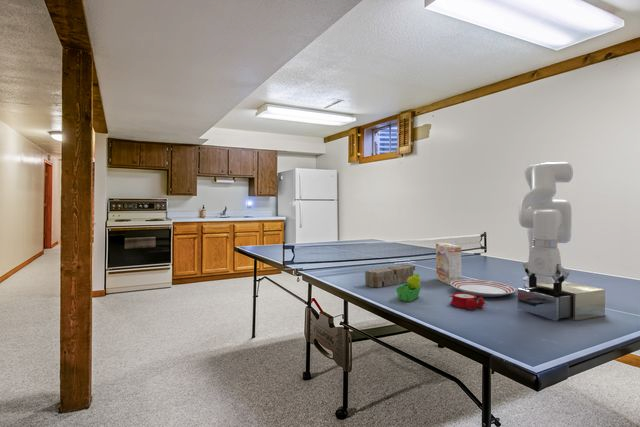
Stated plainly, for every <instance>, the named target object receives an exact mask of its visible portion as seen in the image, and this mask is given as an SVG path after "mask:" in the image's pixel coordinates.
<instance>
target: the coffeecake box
mask: <svg viewBox="0 0 640 427" xmlns="http://www.w3.org/2000/svg"><path fill="white" fill-rule="evenodd" d="M435 271H436V272H435V279H436V280H438V281H440V282H442V283H444V284H445V285H448V286H451V284H450V283H451V282H452V281H455V280H462V246H460V245H457V244H452V243H448V242H437V243H435Z"/></svg>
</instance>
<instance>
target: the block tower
mask: <svg viewBox="0 0 640 427" xmlns="http://www.w3.org/2000/svg"><path fill="white" fill-rule="evenodd" d="M414 271H416V265H412V264H406V263H402V264H399V265H392V266H388V267H381V268H373V269H368V270H365V271H364V279H365V286H366V287H369V288H378V289H379V288H382V287H389V286H393V285H398V284H404V283H407V279H408V278H409V277H411V276H413V275H414Z"/></svg>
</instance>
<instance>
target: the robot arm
mask: <svg viewBox="0 0 640 427" xmlns="http://www.w3.org/2000/svg"><path fill="white" fill-rule="evenodd" d="M523 172H524V178H525V181H526V183H527V185H528V187H529V191H527V193H526V194H525V195H524V196H523V197H521V200H520V201H519V205H518V222H519V225H520V227H522V228H525V229H527V230H526V232H527V239H528V260H527V262H525V263H523V264H522V266H523V269H524V272H525V273H526V276H524V277H523V278H522V281H524V282H526V283H525V285H524V287H525V289H527V288H533V287H536V286H537V283H544V282H552V281H555V283H553V293H554V294H560V293H561V291H562V282H564V281H566V280H567V279H568V277H569V275H570V270H569V271H568V270H567V269H566V268H564V266H562V259H561V253H560V252H561V251H560V249H559V248H558V244H567V243H569V242H570V241H571V238H572V214H573V213H572V205H571V202H570V201H569V200H567V199H553V198H554V197H555V195H556V193H557V185H556V184H557V183H560V184H561V183H570V182H571V181H572V179H573V176H574V170H573V166H572V164H571V163H570V162H568V161H558V162H557V161H555V162H552V161H551V162H541V163H537V164H530V165H527V166H526V167H525V168H524V171H523Z"/></svg>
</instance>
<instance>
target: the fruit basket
mask: <svg viewBox="0 0 640 427" xmlns="http://www.w3.org/2000/svg"><path fill="white" fill-rule="evenodd" d="M421 288H422V286H421V277H420V274H418V273H413V276H411V277H409V278H408V279H407V282H406V283H405V284H404V283H403V284H401V285H400V286H397V287H396V288H395V291H396V294H397V297H398V300H399V301H402V302H412V301H415V300H416V299H418V298H419V294H420V292H421Z"/></svg>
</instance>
